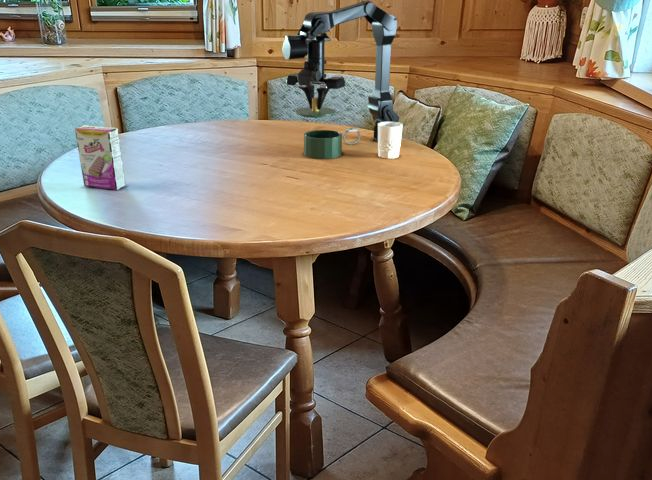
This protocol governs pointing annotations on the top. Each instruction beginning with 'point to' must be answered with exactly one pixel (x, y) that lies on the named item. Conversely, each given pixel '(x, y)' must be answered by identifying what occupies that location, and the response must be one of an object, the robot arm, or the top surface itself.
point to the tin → (322, 144)
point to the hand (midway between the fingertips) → (315, 109)
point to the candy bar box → (100, 157)
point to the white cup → (389, 139)
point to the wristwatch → (351, 131)
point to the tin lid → (315, 110)
